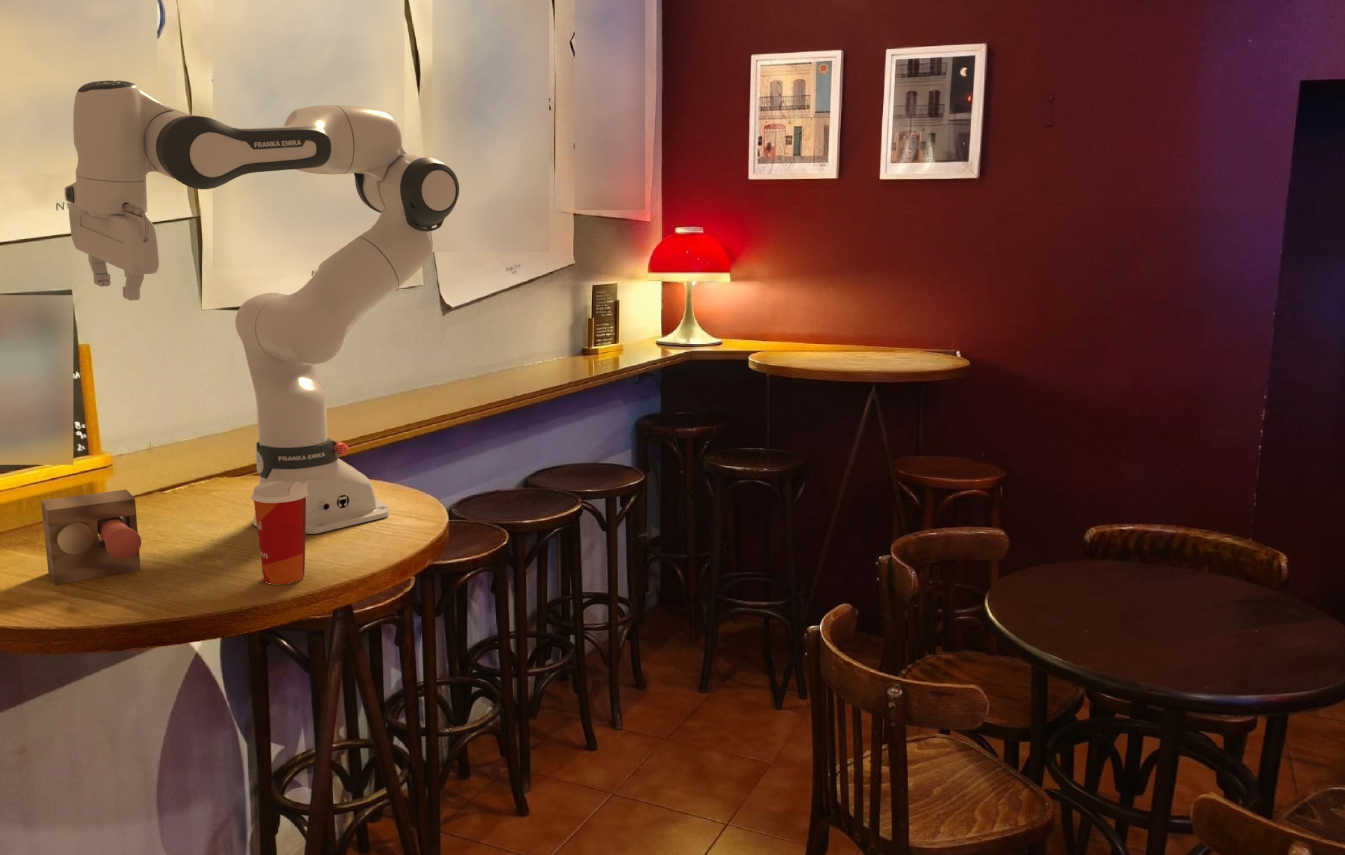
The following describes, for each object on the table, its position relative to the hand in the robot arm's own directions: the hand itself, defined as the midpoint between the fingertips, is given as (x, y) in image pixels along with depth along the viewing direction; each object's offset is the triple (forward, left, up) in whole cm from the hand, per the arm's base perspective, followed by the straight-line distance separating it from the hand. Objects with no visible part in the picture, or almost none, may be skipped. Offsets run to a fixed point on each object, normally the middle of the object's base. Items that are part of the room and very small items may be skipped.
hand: (116, 292), depth 148 cm
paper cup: (-14, +25, -40) cm, 50 cm away
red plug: (+5, +11, -36) cm, 38 cm away
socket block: (+7, +7, -40) cm, 41 cm away
